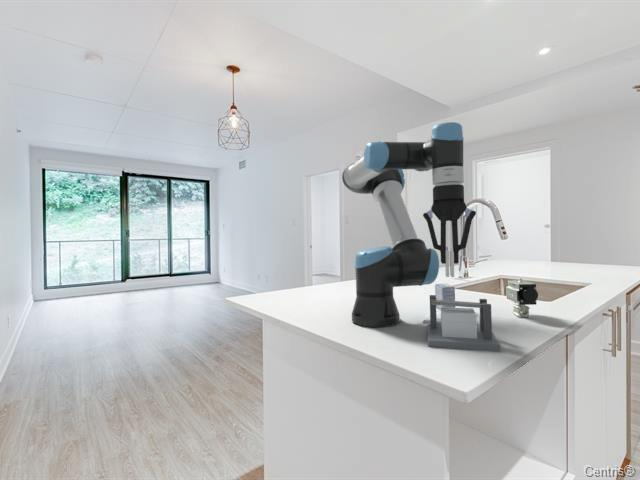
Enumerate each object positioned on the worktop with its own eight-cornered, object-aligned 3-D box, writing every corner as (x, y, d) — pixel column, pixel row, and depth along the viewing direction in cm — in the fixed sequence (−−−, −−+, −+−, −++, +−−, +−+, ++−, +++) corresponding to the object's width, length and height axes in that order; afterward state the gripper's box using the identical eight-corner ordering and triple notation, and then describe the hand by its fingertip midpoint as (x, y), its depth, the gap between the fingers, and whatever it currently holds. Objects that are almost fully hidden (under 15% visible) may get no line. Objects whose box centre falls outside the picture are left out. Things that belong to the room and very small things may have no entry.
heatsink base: (428, 346, 83) (427, 304, 83) (427, 329, 96) (426, 293, 96) (500, 351, 78) (499, 306, 78) (489, 332, 91) (488, 294, 91)
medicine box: (456, 312, 115) (455, 286, 115) (442, 312, 115) (442, 287, 115) (447, 306, 123) (446, 283, 123) (435, 307, 123) (434, 283, 123)
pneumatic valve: (520, 311, 112) (519, 275, 112) (539, 321, 101) (538, 281, 100) (502, 311, 113) (501, 276, 113) (519, 321, 101) (519, 281, 101)
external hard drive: (458, 318, 110) (450, 328, 99) (433, 315, 114) (422, 324, 103) (458, 313, 110) (450, 322, 99) (433, 310, 114) (422, 319, 103)
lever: (431, 306, 87) (431, 301, 87) (430, 302, 91) (431, 297, 91) (489, 310, 83) (489, 305, 83) (486, 306, 87) (486, 301, 87)
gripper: (420, 185, 85) (422, 278, 86) (478, 181, 81) (480, 278, 82) (420, 188, 92) (422, 273, 93) (474, 185, 88) (476, 274, 89)
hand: (449, 276), depth 88 cm, fingers closed
